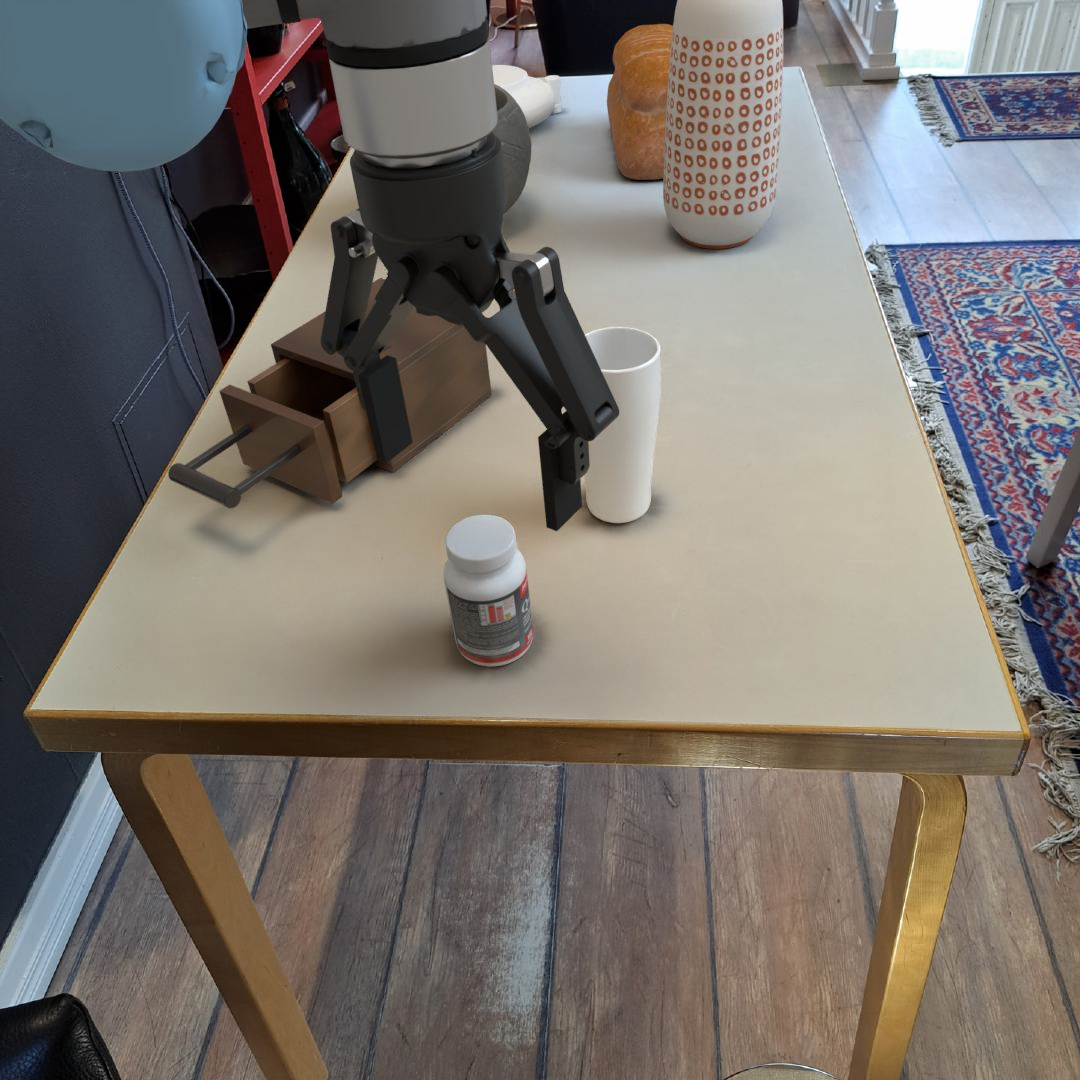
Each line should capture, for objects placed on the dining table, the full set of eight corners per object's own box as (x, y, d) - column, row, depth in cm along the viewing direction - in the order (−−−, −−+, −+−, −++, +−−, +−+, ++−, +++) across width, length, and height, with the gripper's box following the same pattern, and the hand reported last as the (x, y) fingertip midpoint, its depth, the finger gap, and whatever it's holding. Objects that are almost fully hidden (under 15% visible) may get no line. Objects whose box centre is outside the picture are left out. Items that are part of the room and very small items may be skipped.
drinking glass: (615, 543, 78) (612, 382, 69) (561, 505, 83) (551, 348, 73) (676, 506, 81) (681, 347, 72) (621, 471, 86) (618, 316, 76)
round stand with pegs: (443, 161, 146) (436, 112, 141) (400, 116, 163) (393, 71, 159) (590, 131, 152) (589, 82, 147) (534, 90, 169) (531, 45, 164)
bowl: (520, 257, 119) (509, 131, 110) (356, 256, 123) (331, 133, 113) (548, 190, 135) (541, 74, 125) (402, 190, 139) (384, 77, 129)
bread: (691, 116, 154) (694, 9, 144) (714, 179, 134) (720, 59, 124) (605, 122, 154) (602, 16, 144) (615, 186, 134) (613, 67, 124)
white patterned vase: (751, 265, 114) (771, -7, 95) (645, 248, 119) (645, -12, 101) (787, 220, 122) (812, -38, 104) (686, 206, 128) (693, -41, 109)
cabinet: (393, 472, 88) (374, 380, 82) (295, 433, 94) (270, 344, 87) (491, 395, 96) (481, 306, 90) (396, 363, 102) (380, 277, 96)
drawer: (260, 560, 79) (234, 483, 73) (169, 514, 84) (139, 439, 79) (434, 425, 91) (422, 352, 86) (346, 393, 97) (329, 322, 92)
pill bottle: (546, 653, 70) (536, 549, 64) (471, 680, 69) (453, 576, 62) (516, 602, 74) (504, 500, 68) (445, 627, 73) (426, 524, 66)
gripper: (686, 150, 44) (678, 512, 58) (300, 88, 56) (370, 401, 70) (596, 211, 40) (611, 587, 54) (198, 131, 52) (295, 455, 66)
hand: (475, 483), depth 62 cm, fingers open, 13 cm apart
